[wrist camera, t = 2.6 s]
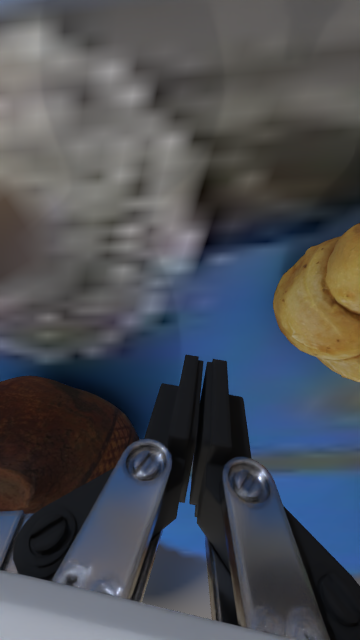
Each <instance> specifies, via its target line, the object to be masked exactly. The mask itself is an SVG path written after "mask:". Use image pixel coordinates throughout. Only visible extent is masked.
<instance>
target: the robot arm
mask: <svg viewBox="0 0 360 640" xmlns="http://www.w3.org/2000/svg"><path fill="white" fill-rule="evenodd" d="M198 358H199V357H198V356H192V355H185V360H184V365H183V370H182V374H181V379H180V384H179V386H175V385H169V384H163V383H162V384H161V386H160V389H159V393H158V396H157V399H156V402H155V405H154V409H153V412H152V415H151V418H150V422H149V425H148V428H147V431H146V434H145V438H144V439H141V440H138V441H135V442H133V443H132V444H131V445H129V446H128V447H127V448H126V449H125V451H124V452H123V454H122V455H121V457H120V459H119V461H118V463H117V464H116V466H115V467H114V468H113V469H111V470H109V471H107V472H105V473H104V474H102V475H100V476H98V477H96V478H95V479H93V480H91V481H89V482H88V483H86V484H84V485H82V486H80V487H79V488H77V489H75V490H73V491H71V492H70V493H68V494H66V495H64V496H63V497H61V498H59V499H57V500H55V501H54V502H52V503H50V504H48V505H47V506H45V507H43V508H41V509H40V510H39V511H37V512H36V513H33V514H24V511H23V510H19V511H2V512H0V640H360V586H359V585H358V584H357V582H356V581H355V580H354V578H353V577H352V576H351V575H350V574H349V573H348V572H347V571H346V570H345V569H344V568H343V567H342V566H341V565H340V564H339V563H338V561H337V560H336V559H335V558H334V557H333V556H332V555H331V554H330V553H329V552H328V551H327V550H326V549H325V548H324V547H323V546H322V545H321V544H320V543H319V542H318V541H317V540H316V539H315V538H314V537H313V536H312V535H311V534H310V533H309V532H308V531H307V530H306V529H305V528H304V527H303V526H302V525H301V524H300V523H299V522H298V520H297V519H296V518H295V517H294V516H293V515H292V514H291V513H290V512H289V511H288V510H287V509H286V508H285V507H284V506H283V504H282V501H281V498H280V496H279V493H278V490H277V487H276V484H275V482H274V480H273V478H272V476H271V474H270V473H269V471H268V470H267V469H266V468H265V467H264V466H263V465H262V464H260V463H259V462H258V461H255V460H253V459H251V452H250V445H249V437H248V430H247V422H246V415H245V407H244V401H243V398H242V397H239V396H233V395H229V391H228V375H227V361H222V360H216V359H213V361H212V362H207V366H206V372H205V377H204V383H203V388H202V394H201V399H200V393H201V382H202V371H203V361H200V360H198ZM193 455H194V460H193ZM192 461H193V471H192V482H191V492H190V504H193V505H196V506H195V517H197V524H198V525H199V527H200V528H201V530H202V531H203V532H204V534H205V547H206V558H207V570H208V581H209V593H210V605H211V617H212V620H211V619H207V618H202V617H198V616H195V615H190V614H186V613H182V612H178V611H174V610H169V609H165V608H161V607H157V606H153V605H149V604H144V603H141V602H142V599H143V596H144V592H145V589H146V586H147V582H148V579H149V576H150V572H151V569H152V566H153V562H154V559H155V556H156V552H157V549H158V546H159V542H160V539H161V536H162V532H163V528H165V527H166V526H167V525H168V524H170V523H171V522H172V521H173V520H175V519H176V516H177V510H178V504H179V502H183V503H185V498H186V492H187V487H188V482H189V476H190V471H191V466H192Z"/></svg>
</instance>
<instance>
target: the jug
mask: <svg viewBox="0 0 360 640" xmlns="http://www.w3.org/2000/svg"><path fill="white" fill-rule="evenodd" d="M138 440H140V439H139V437H138V435H137V433H136V431H135V429H134V427H133V425H132V424H131V422H130V420H129V419H128V418H127V416H126V415H125V414H124V413H123V412H122V411H121V410H119V409H118V408H117V407H116V406H114V405H113V404H111V403H110V402H108V401H106V400H104V399H102V398H100V397H99V396H97V395H95V394H92V393H89V392H87V391H84V390H81V389H77V388H74V387H71V386H68V385H65V384H63V383H60V382H57V381H54V380H51V379H46V378H42V377H37V376H21V377H17V378H12V379H8V380H5V381H1V382H0V512H2V511H19V510H23V511H24V514H33V513H36V512H37V511H39V510H40V509H41V508H43V507H45V506H47V505H48V504H50V503H52V502H54V501H55V500H57V499H59V498H61V497H63V496H64V495H66V494H68V493H70V492H71V491H73V490H75V489H77V488H79V487H80V486H82V485H84V484H86V483H88V482H89V481H91V480H93V479H95V478H96V477H98V476H100V475H102V474H104V473H105V472H107V471H109V470H111V469H113V468H114V467H115V466H116V464H117V463H118V461H119V459H120V457H121V455H122V454H123V452H124V451H125V449H126V448H127V447H128V446H129V445H131V444H132V443H133V442H135V441H138Z"/></svg>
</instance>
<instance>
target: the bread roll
mask: <svg viewBox="0 0 360 640" xmlns="http://www.w3.org/2000/svg"><path fill="white" fill-rule="evenodd" d="M273 309H274V313H275V316H276V320H277V323H278V326H279V328H280V330H281V332H282V333H283V334H284V335H285V336H286V337H287V339H288V340H289V341H290V343H292V344H293V345H294V346H296V347H297V348H298V349H299V350H301V351H302V352H305V353H307V354H310V355H313V356H316V357H317V358H318V359H319V360H320V361H321V362H322V363H323V364H324V365H326V366H327V367H328V368H329V369H331V370H332V371H334V372H336V373H338V374H340V375H342V376H341V377H344V378H348V379H351V380H353V381H357V382H360V223H359V224H356V225H354V226H353V227H352V228H350V229H349V230H347V231H346V232H345V233H344V234H343V235H342V236H341V237H337V238H334V239H331V240H328V241H325V242H323V243H321V244H319V245H317V246H312V247H310V248H309V249H308V250H307V251H306V253H305V255H303V256H302V257H301V258H300V259H299V260H298V261H297V262H296V264H295V265H294V266H293V267H291V268H290V269H289V270H288V271H287V272H286V273H284V275H283V276H282V278H281V280H280V282H279V284H278V286H277V288H276V291H275V294H274V300H273Z"/></svg>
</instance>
